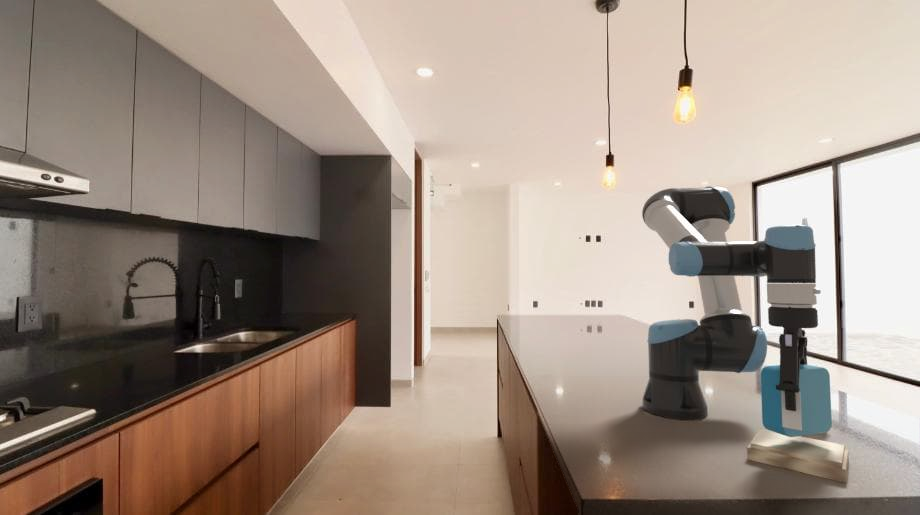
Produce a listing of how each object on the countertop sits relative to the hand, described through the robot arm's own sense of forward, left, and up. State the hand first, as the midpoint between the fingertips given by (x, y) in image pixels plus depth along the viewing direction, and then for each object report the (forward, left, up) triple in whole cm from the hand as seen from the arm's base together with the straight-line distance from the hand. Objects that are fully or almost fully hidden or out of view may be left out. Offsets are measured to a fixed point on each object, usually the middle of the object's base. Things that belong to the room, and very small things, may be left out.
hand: (796, 419), depth 82 cm
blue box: (0, 0, -2) cm, 2 cm away
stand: (0, 0, -8) cm, 8 cm away
